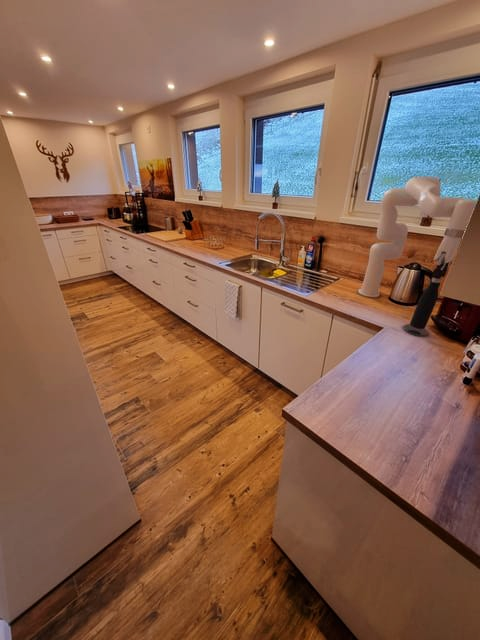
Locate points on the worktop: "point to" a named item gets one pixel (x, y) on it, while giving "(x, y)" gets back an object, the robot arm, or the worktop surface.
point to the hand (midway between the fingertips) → (437, 276)
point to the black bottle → (426, 303)
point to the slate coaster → (415, 330)
